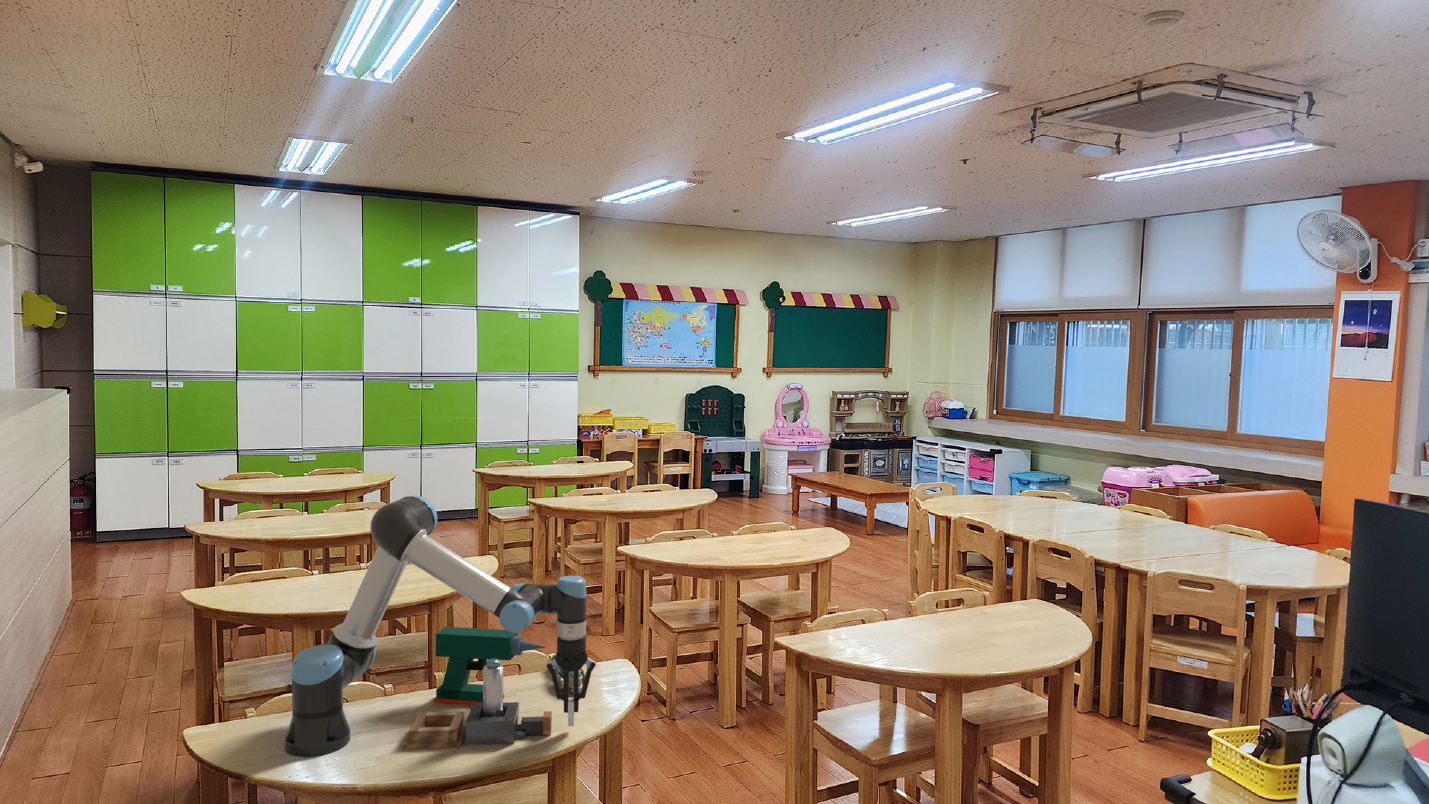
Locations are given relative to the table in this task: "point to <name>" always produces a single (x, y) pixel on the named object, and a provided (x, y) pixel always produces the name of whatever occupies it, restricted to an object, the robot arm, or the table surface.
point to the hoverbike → (571, 677)
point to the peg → (493, 689)
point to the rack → (437, 730)
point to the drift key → (537, 724)
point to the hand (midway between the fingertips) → (571, 723)
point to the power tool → (462, 652)
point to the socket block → (493, 726)
